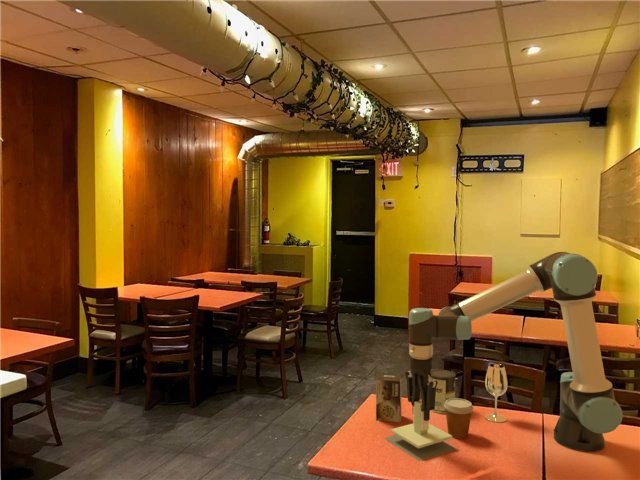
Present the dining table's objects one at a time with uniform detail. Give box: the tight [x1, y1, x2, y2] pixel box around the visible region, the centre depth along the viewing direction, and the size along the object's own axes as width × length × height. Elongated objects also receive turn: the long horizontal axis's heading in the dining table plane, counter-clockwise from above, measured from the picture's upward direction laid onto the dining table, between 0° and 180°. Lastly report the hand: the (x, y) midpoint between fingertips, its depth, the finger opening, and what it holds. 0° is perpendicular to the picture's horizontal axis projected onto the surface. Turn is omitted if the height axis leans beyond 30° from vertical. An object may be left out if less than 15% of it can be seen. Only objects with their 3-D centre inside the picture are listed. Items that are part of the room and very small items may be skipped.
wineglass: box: [484, 363, 508, 423], centre depth 186 cm, size 8×8×20 cm
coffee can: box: [430, 369, 457, 415], centre depth 195 cm, size 10×10×14 cm
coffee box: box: [375, 374, 402, 423], centre depth 184 cm, size 9×6×16 cm
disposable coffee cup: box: [444, 397, 474, 440], centre depth 170 cm, size 10×10×12 cm
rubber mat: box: [383, 434, 459, 462], centre depth 163 cm, size 18×16×1 cm
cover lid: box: [390, 399, 453, 448], centre depth 163 cm, size 14×14×11 cm
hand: (420, 427), depth 163 cm, fingers closed on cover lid, 3 cm apart
